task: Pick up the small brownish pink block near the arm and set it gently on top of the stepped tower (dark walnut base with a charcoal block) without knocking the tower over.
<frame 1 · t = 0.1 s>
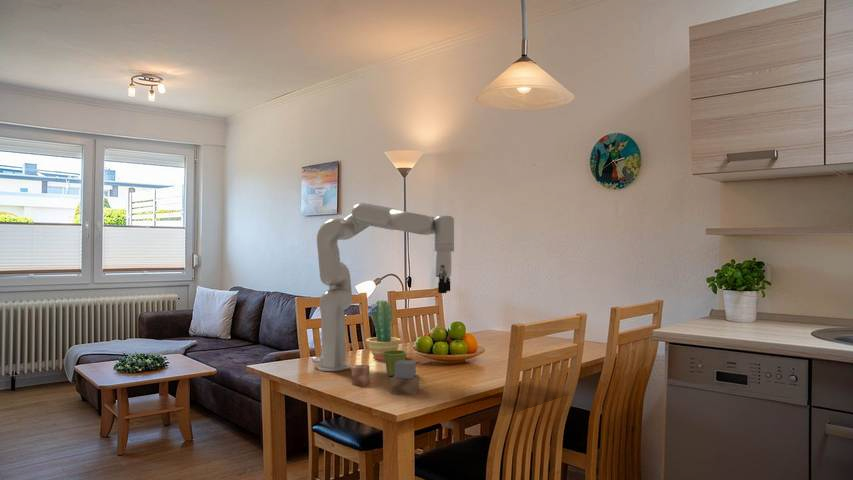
hand: (444, 292, 226), 31 cm above the table, fingers open, 9 cm apart
walnut base block: (405, 391, 198), on the table
potted cactus: (383, 358, 256), on the table
brownish pink block: (360, 383, 209), on the table
plant pot: (395, 375, 222), on the table
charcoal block: (405, 376, 198), point 5 cm above the table
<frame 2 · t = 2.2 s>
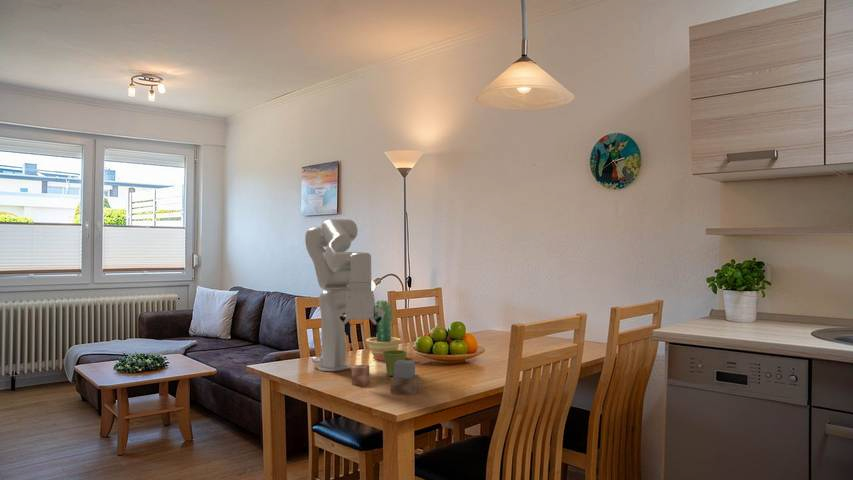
hand: (361, 335, 209), 17 cm above the table, fingers open, 9 cm apart
walnut base block: (404, 391, 198), on the table, touching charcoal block
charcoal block: (404, 376, 198), point 5 cm above the table, touching walnut base block
everything else where it was.
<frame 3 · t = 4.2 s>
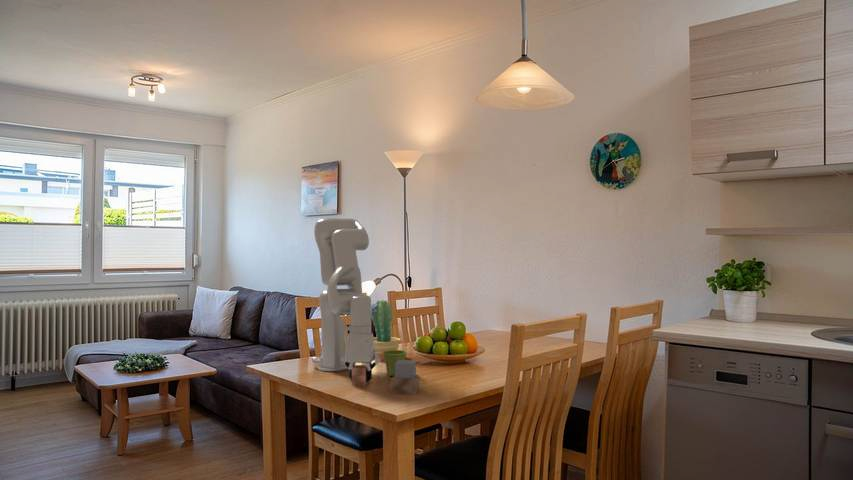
hand: (360, 380, 209), 1 cm above the table, fingers closed on brownish pink block, 5 cm apart
brownish pink block: (360, 383, 209), on the table, touching gripper
everything else where it was.
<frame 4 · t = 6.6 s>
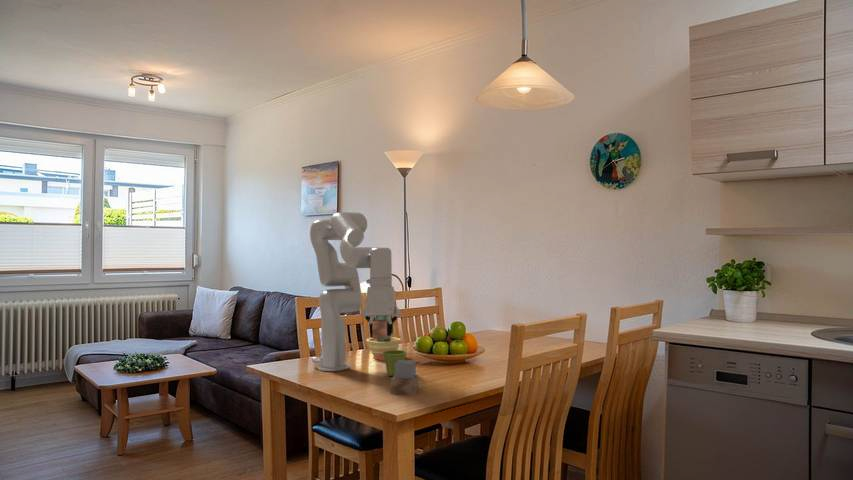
hand: (381, 334, 204), 18 cm above the table, fingers closed on brownish pink block, 4 cm apart
brownish pink block: (381, 337, 204), point 17 cm above the table, touching gripper
everything else where it was.
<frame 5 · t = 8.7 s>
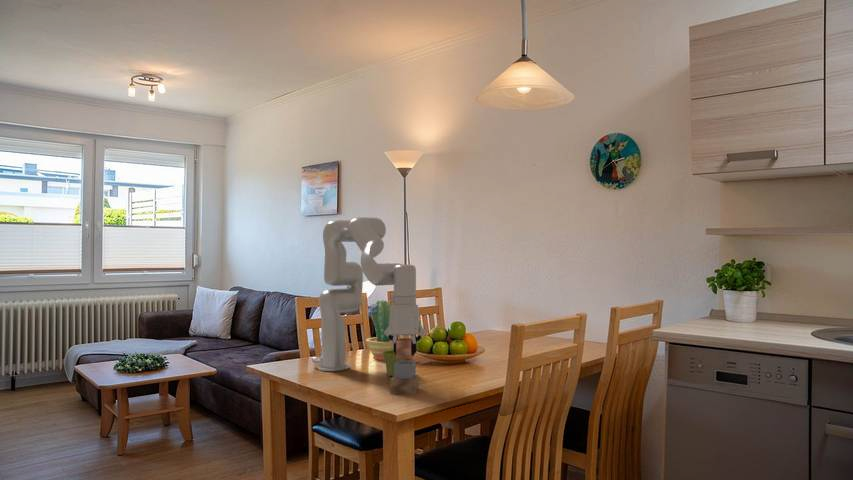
hand: (405, 354, 198), 12 cm above the table, fingers closed on brownish pink block, 4 cm apart
brownish pink block: (405, 357, 198), point 11 cm above the table, touching gripper
everything else where it was.
when the fingers open (12 cm above the table, at t = 9.3 s): brownish pink block stays where it is, resting on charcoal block.
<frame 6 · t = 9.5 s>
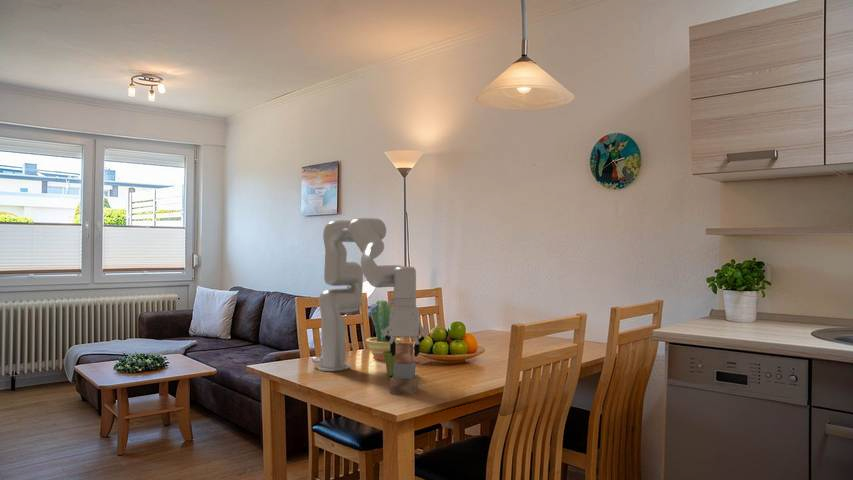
hand: (404, 355, 198), 12 cm above the table, fingers open, 7 cm apart
brownish pink block: (404, 362, 198), point 10 cm above the table, touching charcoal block
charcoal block: (404, 377, 198), point 5 cm above the table, touching brownish pink block, walnut base block
everything else where it was.
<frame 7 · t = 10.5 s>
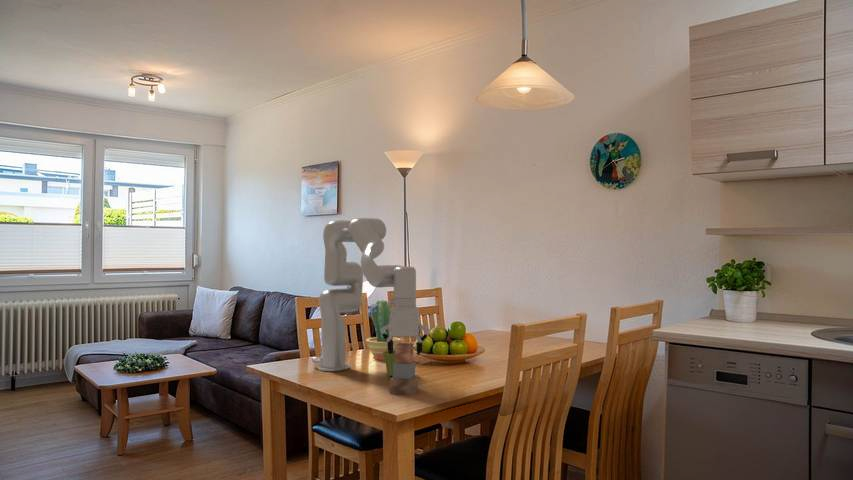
hand: (404, 353, 198), 13 cm above the table, fingers open, 9 cm apart
walnut base block: (404, 392, 198), on the table
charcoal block: (404, 377, 198), point 5 cm above the table, touching brownish pink block
everything else where it was.
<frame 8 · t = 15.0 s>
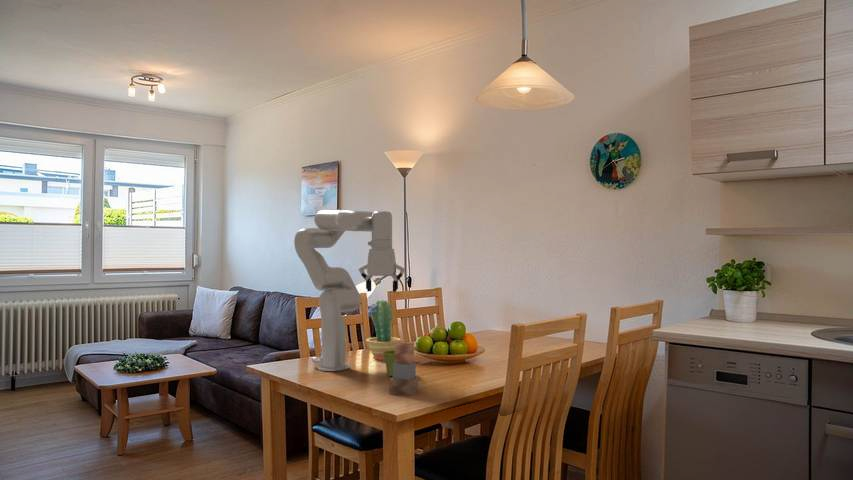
hand: (381, 291, 215), 32 cm above the table, fingers open, 9 cm apart
nothing on the table moved.
at the end: brownish pink block 0.5 cm off-centre on the walnut base block, point 10.0 cm above the walnut base block's base; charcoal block 0.2 cm off-centre on the walnut base block, point 5.0 cm above the walnut base block's base; brownish pink block tilted 0° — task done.
